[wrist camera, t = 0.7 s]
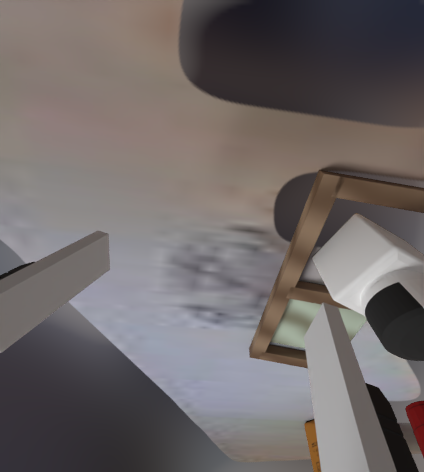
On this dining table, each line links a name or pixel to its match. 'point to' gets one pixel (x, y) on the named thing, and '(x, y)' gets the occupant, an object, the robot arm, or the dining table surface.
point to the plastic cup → (417, 421)
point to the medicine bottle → (378, 282)
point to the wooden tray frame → (287, 285)
